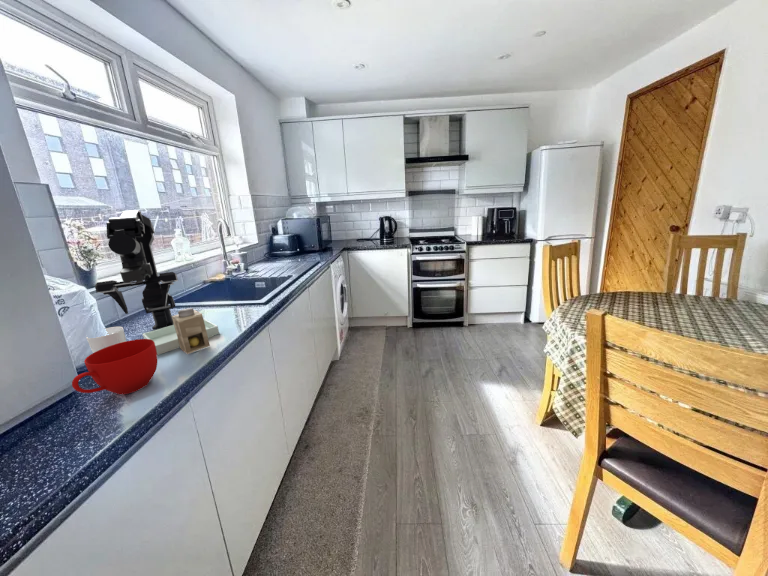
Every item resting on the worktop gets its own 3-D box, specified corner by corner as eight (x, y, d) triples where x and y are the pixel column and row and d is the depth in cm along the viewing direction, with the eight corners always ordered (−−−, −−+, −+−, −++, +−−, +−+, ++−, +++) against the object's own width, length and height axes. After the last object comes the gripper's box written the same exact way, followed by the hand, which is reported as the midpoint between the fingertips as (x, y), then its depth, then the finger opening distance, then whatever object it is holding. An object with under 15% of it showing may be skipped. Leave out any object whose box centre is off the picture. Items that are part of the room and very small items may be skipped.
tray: (144, 341, 101) (142, 333, 100) (202, 324, 114) (200, 316, 113) (157, 355, 91) (154, 346, 90) (219, 333, 103) (217, 325, 103)
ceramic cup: (63, 412, 66) (46, 372, 63) (138, 370, 82) (127, 337, 79) (107, 417, 63) (92, 376, 60) (176, 373, 79) (166, 339, 76)
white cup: (112, 371, 83) (100, 338, 80) (90, 369, 84) (78, 337, 82) (139, 357, 90) (129, 326, 87) (119, 356, 92) (108, 326, 89)
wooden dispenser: (180, 348, 94) (170, 311, 91) (202, 341, 99) (193, 305, 95) (187, 354, 90) (176, 315, 86) (210, 346, 94) (200, 309, 91)
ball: (190, 345, 95) (188, 336, 94) (201, 343, 96) (198, 334, 95) (188, 349, 92) (186, 340, 91) (199, 346, 93) (197, 338, 92)
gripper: (81, 260, 77) (96, 319, 78) (167, 251, 86) (180, 303, 88) (95, 265, 87) (109, 317, 88) (172, 255, 96) (183, 303, 97)
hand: (146, 310), depth 90 cm, fingers open, 9 cm apart
